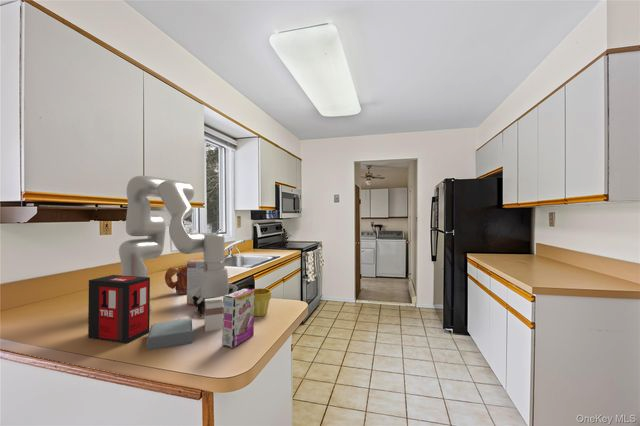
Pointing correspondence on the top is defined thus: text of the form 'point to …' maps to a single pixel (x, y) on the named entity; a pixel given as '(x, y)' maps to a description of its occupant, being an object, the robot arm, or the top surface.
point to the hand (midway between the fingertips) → (214, 311)
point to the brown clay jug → (202, 306)
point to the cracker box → (193, 278)
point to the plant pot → (261, 301)
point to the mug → (181, 279)
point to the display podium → (169, 334)
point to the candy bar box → (238, 317)
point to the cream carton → (213, 314)
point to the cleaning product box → (118, 308)
